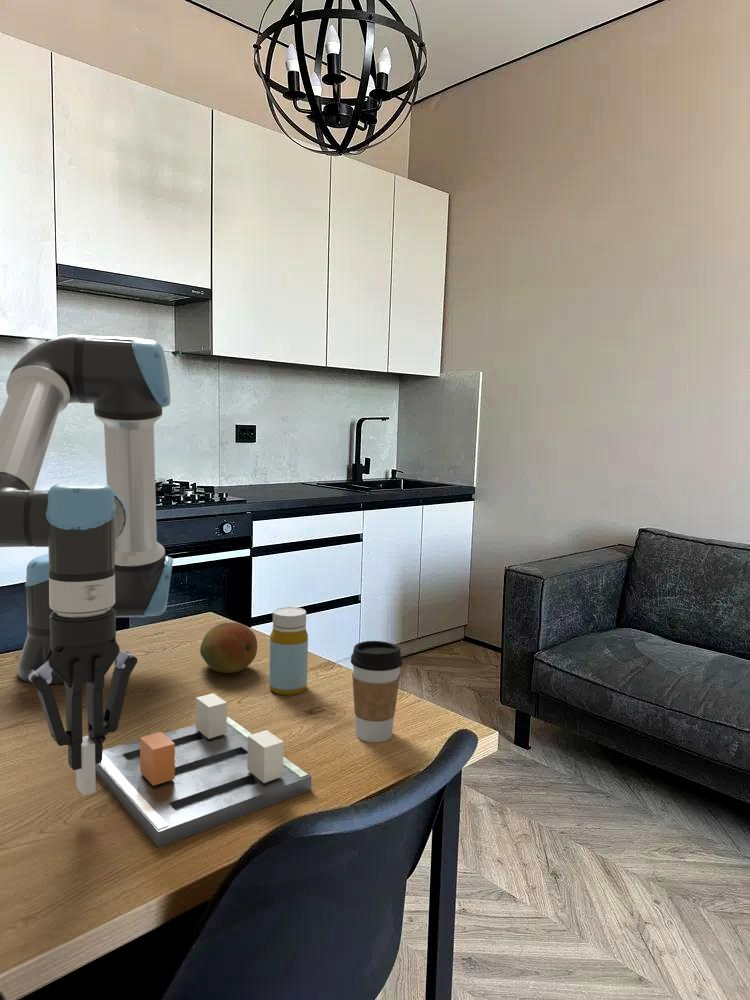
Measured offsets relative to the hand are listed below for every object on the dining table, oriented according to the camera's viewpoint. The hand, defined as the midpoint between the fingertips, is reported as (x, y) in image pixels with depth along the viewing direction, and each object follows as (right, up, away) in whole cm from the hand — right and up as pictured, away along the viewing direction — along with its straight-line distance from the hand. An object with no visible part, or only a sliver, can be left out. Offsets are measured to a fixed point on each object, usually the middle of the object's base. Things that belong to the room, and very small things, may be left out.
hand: (86, 789), depth 90 cm
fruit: (+7, +2, +52) cm, 52 cm away
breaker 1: (+11, 0, +20) cm, 23 cm away
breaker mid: (+7, -2, +6) cm, 10 cm away
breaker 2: (+22, -2, +8) cm, 23 cm away
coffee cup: (+36, -2, +26) cm, 45 cm away
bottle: (+20, +1, +43) cm, 48 cm away
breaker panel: (+12, -3, +10) cm, 16 cm away
